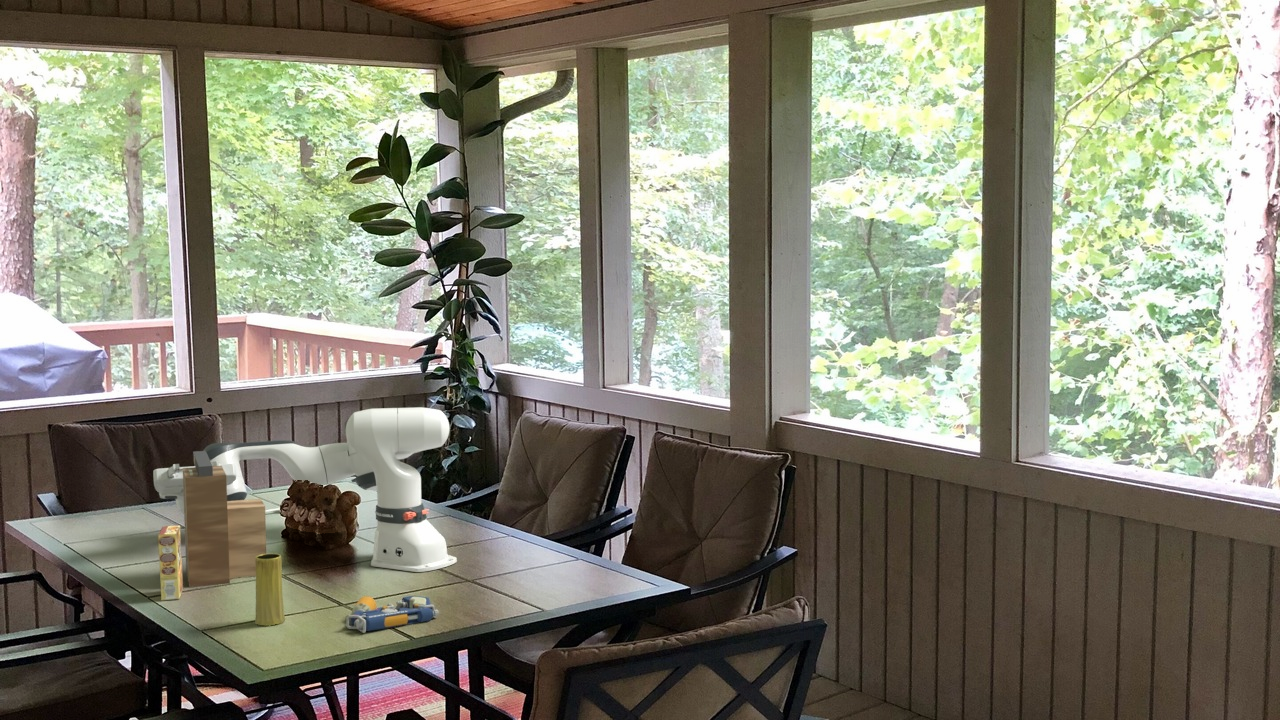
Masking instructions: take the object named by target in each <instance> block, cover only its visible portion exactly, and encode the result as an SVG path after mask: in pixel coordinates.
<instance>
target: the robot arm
mask: <svg viewBox="0 0 1280 720" xmlns="http://www.w3.org/2000/svg"><path fill="white" fill-rule="evenodd" d="M345 420H346V421H345V422H344V434H345V436H346V442H336V443H328V444H322V445H317V446H313V447H312V446H309V447H308V446H302V445H299V444H298V443H297V442H296V441H294V440H285V439H284V440H264V441H263V440H261V441H249V442H247V441H246V442H215V443H211V444H209V445H206V447H205V448H203V450H202V451H206V453H207V455H208V457H209V459H210V462H211V464H212V466H222V468H223V470H224V472H225V474H226V482H227V501H237V500H246V498H247V496H248V492H247V487H246V484H245V483H246V482H245V479H244V477H243V472H242V469H241V465H240V462H241V461H243V460H244V461H245V460H246V461H247V460H260V459H271V460H275V461H276V462H278V463H279V464H280V465H281V466H282V467H283V468H284V469H285V471H286V473H288V475H289V476H290V477H291V479H292V480H293V481H295V480H308V481H310V482H312V483H317V484H321V485H323V486H327V485H329V484H334V483H337V482H341V481H344V480H346V479H349V478H350V477H353V476H355V478H353V479H351V482H352V483H356V485H357V487H359V488H361V489H362V490H365V491H367V490H368V491H376V496H377V497H376V498H377V504H376V505H375V511H374V513H375V520H377V521H376V522H377V525H376V529H375V532H374V543H373V553H372V558H371V561H370V566H371V567H375V568H376V567H377V568H384V569H391V570H399V571H405V572H415V573H424V572H428V571H429V572H430V571H435V570H439V569H444V568H445V567H449V566H451V565H454V564H455V563H457V562H458V560H457V556H453V555H450V554H448V549H447V542H446V539H445V537H444V536H443V535H442V534H441V533H440V532H439V531H438V530H437V529H436V527H434V526H433V524H431V523H430V522H429V521H428V519H427V518H428V515H427V514H430V512H428V511H430V509H429V508H425V506H424V503H422V476H421V474H420V473H419V470H417V469H416V468H415V467H414V466H412V465H409V464H407V463H405V462H402V461H400V460H405V459H407V458H409V457H410V456H412V455H413V454H417V453H420V452H422V451H427V450H432V449H437V448H441V447H443V446H444V444H445V443H446V442H447V440H448V438H449V435H450V429H451V428H450V422H449V419H448V417H447V416H446V414H445V413H444V412H443V411H442V410H441V409H435V408H430V407H424V406H423V407H422V406H421V407H418V406H417V407H386V408H385V407H384V408H381V407H380V408H368V409H364V410H358V411H354V412H353V413H352V414H351V415H350V417H348V418H347V419H345ZM194 467H195V465H194V466H180V463H174V464H172V466H170V467H164V468H163V467H161V468H156V469H154V470H153V473H152V474H153V475H152V476H153V486H154V490H155V491H157V493H158V495H159V498H160V499H162V500H163V499H164V500H165V499H166V500H175V503H176V506H177V508H178V510H179V511H180V512H181V513H182V514H183V515H184V492H183V468H194Z"/></svg>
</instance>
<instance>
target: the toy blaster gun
mask: <svg viewBox="0 0 1280 720" xmlns="http://www.w3.org/2000/svg"><path fill="white" fill-rule="evenodd" d="M439 615H440V611H439V610H438V609H435V605H434V604H432V603H431V600H430V597H427V596H426V597H425V596H420V595H419V596H418V595H411V596H410V595H409V596H404V597H402V599H400V600H399V599H398V601H397V602H396V606H394V604H392V603H387V605H386V606H382V607H378V605H377V603H376V600H375V599H374V598H373V597H372V596H371V597H370V596H363V597H361V598H360V599H358V601H357V602H356V604H354V606H353V608H352V610H351V614H348V615H346V617H345V618H346V619H345V620H346V621H345V622H346V628H347V629H349V630H350V629H351V630H358V631H360V632H361V633H363V634H365V633H366V632H372V631H377V630H383V629H384V630H385V629H391V628H396V626H397V627H402V625H403V626H408V624H409V625H414V623H415V624H420V623H419V622H421V623H426V622H431V621H432V619H434V618H435V617H436V616H439ZM433 617H434V618H433ZM425 621H426V622H425Z"/></svg>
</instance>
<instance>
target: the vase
mask: <svg viewBox="0 0 1280 720" xmlns="http://www.w3.org/2000/svg"><path fill="white" fill-rule="evenodd" d="M255 564H256V576H255V620H254V623H255V625H257V624H258V625H257V626H260V625H264V626H263V627H270V626H269V625H273V626H276V625H275V624H278V625H281V624H282V622H283V623H285V621H286V618H285V610H284V598H283V573H282V572H283V569H282V554H280V553H276V552H274V553H272V552H269V553H268V552H267V554H261V555H258V556H256V557H255ZM280 623H281V624H280Z"/></svg>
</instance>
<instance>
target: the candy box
mask: <svg viewBox="0 0 1280 720" xmlns="http://www.w3.org/2000/svg"><path fill="white" fill-rule="evenodd" d="M157 540H158V557H159V559H158V560H159V577H160V596H161V597H160V598H161V599H160V600H161V601H171V600H179V599H180V598H181V596H182V593H183V590H184V585H183V584H184V581H183V565H182V563H183V562H182V560H183V559H182V542H181V541H182V540H181V525H169V526H168V525H166V526H162V527H161V530H160V531H159V533H158V534H157Z"/></svg>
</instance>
